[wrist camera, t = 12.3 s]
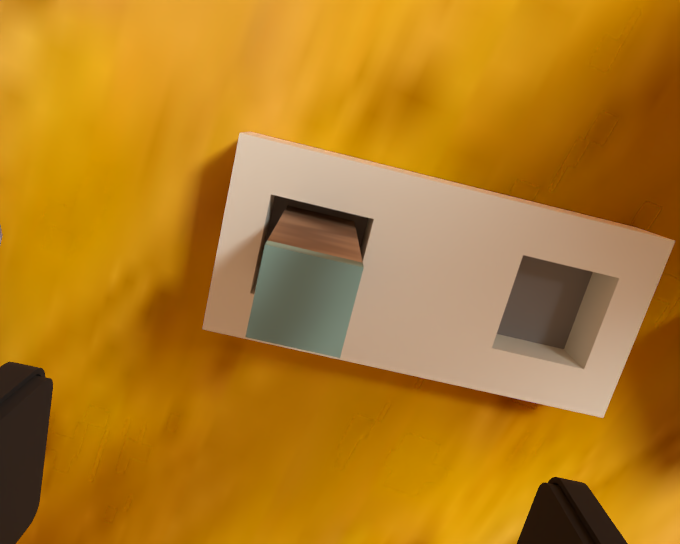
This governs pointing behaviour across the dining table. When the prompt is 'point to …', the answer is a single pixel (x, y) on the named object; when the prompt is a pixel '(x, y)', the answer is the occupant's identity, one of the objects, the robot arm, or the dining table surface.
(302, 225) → the plug peg
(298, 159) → the socket panel
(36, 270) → the dining table surface
